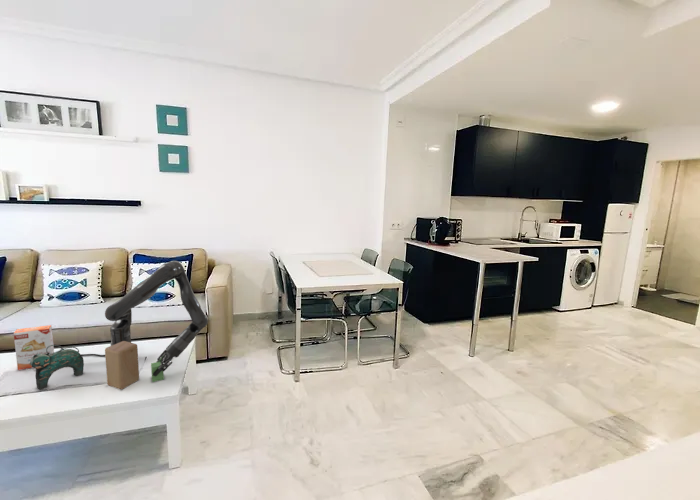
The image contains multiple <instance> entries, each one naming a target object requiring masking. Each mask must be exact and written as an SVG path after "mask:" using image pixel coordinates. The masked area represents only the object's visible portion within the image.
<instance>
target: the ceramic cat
mask: <svg viewBox="0 0 700 500" xmlns="http://www.w3.org/2000/svg"><path fill="white" fill-rule="evenodd" d="M55 345H56V344H54V345H50V346H54V347H56V346H55ZM50 346H48V347H50ZM48 347H47V349H48ZM47 349H46V352H47ZM63 349H64V350H63ZM63 349H61V348H60V350H57V351H54V353H52V354H50V355H49V353H48V352H47V354H44V353H40V354H36V355H34V356H33V357H32V358H31V360H30V364H31V366H32V367H33V368H32V369H34V370H35V384H36V389H38V390H39V391H41V390H44V389H47V388H48V384H49V380H50V378H51V376H52V375H53V374H54V373H55V372H57V371H58V370H61V369H64V368H71V369H72V371H73V375H74V376H75V377H80V376H82V375H83V374H84V366H85V361H84V356H81V355H80V354H81V353H80V350H79V348H77V347H76V346H68V347H63ZM75 349H76V350H75Z"/></svg>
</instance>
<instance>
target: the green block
mask: <svg viewBox="0 0 700 500" xmlns="http://www.w3.org/2000/svg"><path fill="white" fill-rule="evenodd" d="M160 363H161V361H160V362H157V361H156V362H151V363H150V371H151V372H150V373H151V381H152V383H155V382H158V381H163V380H165V377H164V376H165V375H164V372H163V371H161V372H160V373H159V374H158V375H157V376H156V377H155V376H153V373H154V372H155V371H156V370H157V368H158V367H159V366H160Z"/></svg>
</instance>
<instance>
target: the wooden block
mask: <svg viewBox="0 0 700 500" xmlns="http://www.w3.org/2000/svg"><path fill="white" fill-rule="evenodd" d="M104 355H105V356H104V358H105V368H106V369H105V370H106V383H107V386H109V387H111V388H115V389H118V390H123V389H125V388H127V387H130V386H131V385H133V384H135V383H136V382H138V381H139V380H140V368H139V367H140V366H139V351H138V344H137V343H134V342H131V343H130V342H126V341H122V342H119V343H117V344H115V345H112V346H111V345H110V346H107V347H105V348H104Z"/></svg>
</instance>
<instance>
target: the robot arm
mask: <svg viewBox="0 0 700 500" xmlns="http://www.w3.org/2000/svg"><path fill="white" fill-rule="evenodd" d="M172 280H175V281H176V283H177V285H178V287H179V296H180V300H181V303H182V305H183V306H184V308H185V310H186V312H187V314H188V315H189V317H190V319H191V322H190V324H189V325H188V326H187V327H186V328H185V329H183V330H182V332H180V333H179V335H178V336H176V337H175V338H174V339H173V340H172V342H170V343H169V344H168V345H167V346H166V348H165V350H163V351H162V353H160V355H159V356H158V357H157V359H156V362H160V361H161V363H160V366H159V367H158V368H157V370H156V371H155V372H154V373H153V376H155V377H156V376H157V375H158V374H159V373H160V372H161V371H163V373H164V372H165V371H166V370H167V369H168V368H169V367H170V366H172V364H173V361H172V360H174V358H178V357H180V355H182V353H184V351H185V350H186V349H187V348H188V347H189V345H190V344H191V343H192V341H194V340H195V338H196V337H197V335H198V334H199V333H200V332H201V331H202V330H203V329H204V328H206V327H207V326H208V324H209V319H210V318H209V316H208V315H207V314H205V312H204V311H203V308H202V307H201V303H200V302H199V300H198V298H197V297H196V295H195V293H194V291H193V289H192V287H191V284H190V281H189V278H188V276H187V273H186V270H185V268H184V266H183V264H182V262H180V261H178V260H171V261H168V262H165V263H163V264H161V265H160V266H159V267H158V268H157V269H155V271H154V272H153V273H152V274H151V275H150V276H148V277H146V278H145V279H144V280H142V281H141V282H140V283H138V284H136V286H134V287H133V288H132V289H131V290H130V291H128V292H127V293H126V294H125V295H124V296H122V297H121V298H120V299H119V300H117V301H116V302H113V303H112V304H110V305H108V306H107V308H106V309H105V311H104V317H105V319H106V320H107V321H110V322H114V323H113V324H112V325H111V326H110V328H109V331H110V346H112V345H115V344H117V343H119V342H122V341H126V342H130V343H132V334H131V333H132V331H131V325H132V319H133V318H132V317H133V314H132V313H133V311H132V309H133V308H135V307H137V306H139V305H141V304H143V303H144V302H146V301H147V300H149V299H151V297H153V296H154V295H155V294H156V293H157V291H158V290H159V288H161V286H163V285H165V284H167V283H168V282H170V281H172ZM53 345H55V346H54V347H58V348H59V349H60V350H61V349H63V350H64V347H63V346H61V344H54V343H53ZM80 355H81V356H82V357H86V356H88V357H89V356H96V357H100V358H101V357H105V354H97V353H82V354H81V353H80Z"/></svg>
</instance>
